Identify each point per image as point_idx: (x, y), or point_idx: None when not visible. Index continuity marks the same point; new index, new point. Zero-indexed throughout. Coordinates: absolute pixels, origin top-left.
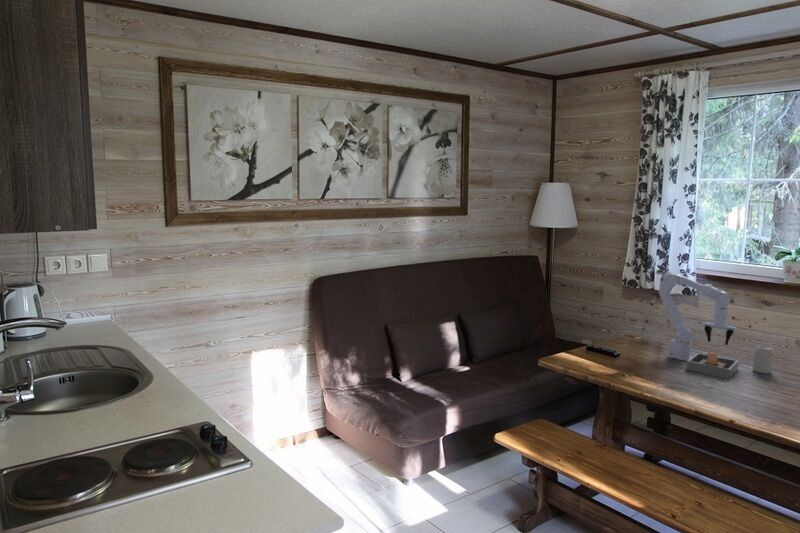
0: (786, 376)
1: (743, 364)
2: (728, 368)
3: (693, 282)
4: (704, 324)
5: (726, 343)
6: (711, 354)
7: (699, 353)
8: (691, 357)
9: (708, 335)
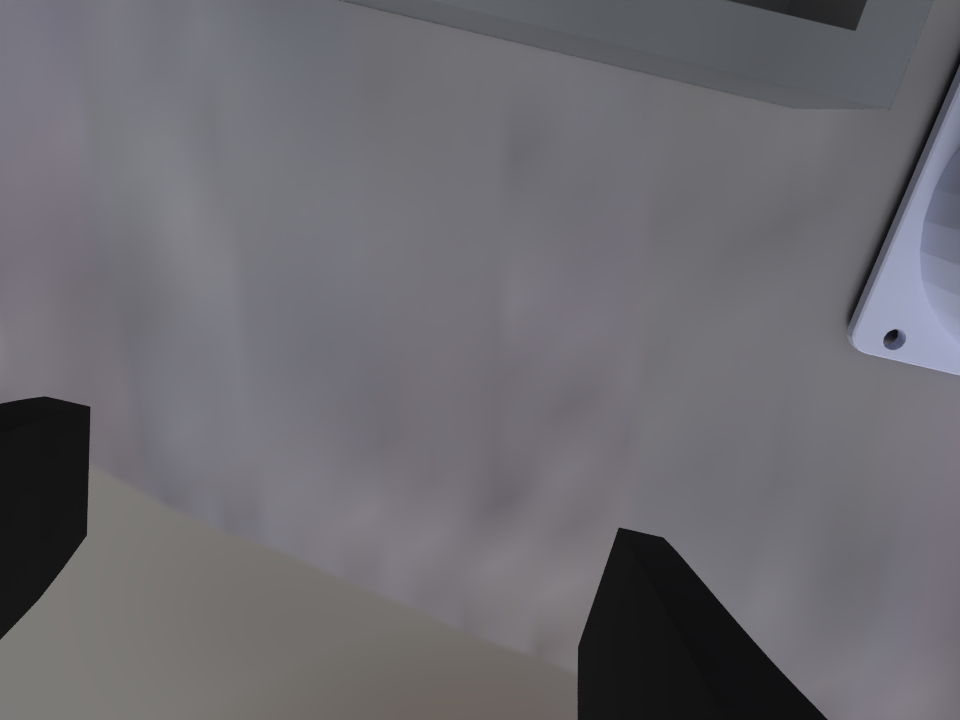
0: None
1: (12, 391)
2: None
3: None
4: None
5: (2, 411)
6: None
7: (841, 63)
8: (883, 295)
9: (755, 711)
